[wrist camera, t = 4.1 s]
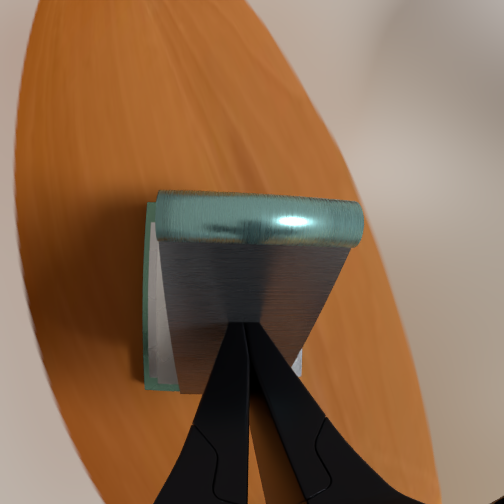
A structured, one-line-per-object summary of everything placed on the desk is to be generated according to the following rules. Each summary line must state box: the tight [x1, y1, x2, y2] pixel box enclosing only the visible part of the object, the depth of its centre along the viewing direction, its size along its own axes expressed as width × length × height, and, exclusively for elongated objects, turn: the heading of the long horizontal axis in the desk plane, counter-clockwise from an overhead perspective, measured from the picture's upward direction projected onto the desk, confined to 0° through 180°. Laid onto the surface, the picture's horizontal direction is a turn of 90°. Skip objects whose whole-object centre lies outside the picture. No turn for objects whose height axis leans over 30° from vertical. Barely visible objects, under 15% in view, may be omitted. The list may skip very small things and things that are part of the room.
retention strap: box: [155, 190, 364, 394], centre depth 9 cm, size 1×4×9 cm
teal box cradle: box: [143, 202, 302, 391], centre depth 16 cm, size 11×9×6 cm
